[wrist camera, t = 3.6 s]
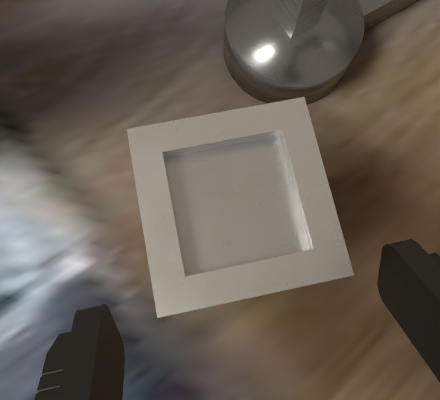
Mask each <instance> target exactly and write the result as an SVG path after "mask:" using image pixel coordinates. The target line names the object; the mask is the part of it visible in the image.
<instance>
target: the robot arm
mask: <svg viewBox="0 0 440 400" xmlns="http://www.w3.org/2000/svg"><path fill="white" fill-rule="evenodd" d="M377 284H378V291H379V294H380V297H381V299H382V301H383V302H384V304H385V305H386V307H387V308H388V310H389V311H390V312H391V314H392V315H393V317H394V318H395V320H396V321H397V322H398V324H399V325H400V327H401V328H402V329H403V331H404V332H405V334H406V335H407V336H408V338H409V339H410V341H411V342H412V344H413V345H414V346H415V348H416V349H417V351H418V352H419V353H420V355H421V356H422V358H423V359H424V360H425V362H426V363H427V365H428V366H429V368H430V369H431V370H432V372H433V373H434V375H435V376H436V377H437V379H438V380H439V382H440V256H439V255H437V254H436V253H433V254H428V253H427V252H426V251H425V250H424V249H423V248H422V247H421V246H420V245H419V244H418V243H417V242H416V241H414V240H411V239H410V240H405V241H400V242H396V243H391V244H386V245H384V246H383V249H382V254H381V261H380V268H379V275H378V282H377ZM124 363H125V354H124V346H123V341H122V338H121V336H120V333H119V331H118V329H117V326H116V324H115V322H114V319H113V317H112V315H111V313H110V310H109V308H108V306H107V305H106V304H103V305H98V306H94V307H89V308H84V309H80V310H77V311H76V313H75V317H74V321H73V326H72V331H71V332H67V333H63V334H59V336H58V337H57V339H56V340H55V342H54V343H53V345H52V346H51V348H50V349H49V351H48V352H47V355H46V359H45V363H44V367H43V371H42V377H41V378H40V382H39V386H38V389H37V390H38V394H36V397H35V400H122V396H123V380H124Z"/></svg>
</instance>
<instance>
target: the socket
mask: <svg viewBox="0 0 440 400" xmlns="http://www.w3.org/2000/svg"><path fill="white" fill-rule="evenodd" d="M127 134H128V140H129V146H130V153H131V159H132V165H133V171H134V177H135V183H136V189H137V195H138V201H139V208H140V214H141V220H142V226H143V232H144V238H145V244H146V250H147V256H148V263H149V269H150V275H151V281H152V287H153V293H154V299H155V305H156V311H157V318H159V317H164V316H168V315H173V314H178V313H182V312H187V311H192V310H196V309H201V308H205V307H210V306H215V305H219V304H224V303H229V302H233V301H238V300H242V299H247V298H252V297H256V296H261V295H266V294H270V293H275V292H279V291H284V290H289V289H293V288H298V287H303V286H307V285H312V284H316V283H321V282H326V281H330V280H335V279H340V278H344V277H349V276H353V275H354V273H353V269H352V266H351V262H350V259H349V255H348V251H347V248H346V244H345V241H344V237H343V233H342V230H341V226H340V223H339V219H338V216H337V212H336V208H335V205H334V201H333V198H332V194H331V190H330V187H329V183H328V180H327V176H326V172H325V169H324V165H323V162H322V158H321V154H320V151H319V147H318V144H317V140H316V136H315V133H314V129H313V126H312V122H311V119H310V115H309V111H308V108H307V104H306V101H305V97H301V98H295V99H290V100H284V101H279V102H273V103H268V104H262V105H257V106H251V107H246V108H240V109H235V110H229V111H224V112H218V113H213V114H207V115H202V116H196V117H190V118H185V119H179V120H174V121H168V122H163V123H157V124H152V125H146V126H141V127H135V128H130V129H127Z"/></svg>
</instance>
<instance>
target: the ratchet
mask: <svg viewBox="0 0 440 400" xmlns="http://www.w3.org/2000/svg"><path fill="white" fill-rule="evenodd" d="M416 1H418V0H229V1H228V4H227V9H226V19H225V38H224V56H225V61H226V65H227V67H228V70H229V72H230V74H231V76H232V77H233V79H234V80H235V81H236V83H237V84H238V85H239V86H240V87H241V88H242V89H243V90H244V91H245V92H247V93H248V94H249V95H251V96H252V97H254V98H256V99H258V100H260V101H262V102H265V103H273V102H279V101H284V100H290V99H295V98H301V97H305V101H306V104H309V103H312V102H315V101H317V100H319V99H321V98H322V97H324V96H325V95H327V94H328V93H329V92H330V91H331V90H332V89H333V88H334V87H335V86H336V85H337V83H338V82H339V80H340V79H341V77H342V76H343V74H344V72H345V71H346V69H347V68H348V66H349V65H350V63H351V61H352V60H353V58H354V57H355V55H356V53H357V52H358V50H359V48H360V46H361V43H362V40H363V36H364V31H365V30H366V29H368V28H370V27H372V26H374V25H375V24H377V23H379V22H381V21H383V20H384V19H386V18H388V17H390V16H391V15H393V14H395V13H397V12H399V11H400V10H402V9H404V8H406V7H408V6H409V5H411V4H413V3H415V2H416Z"/></svg>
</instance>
